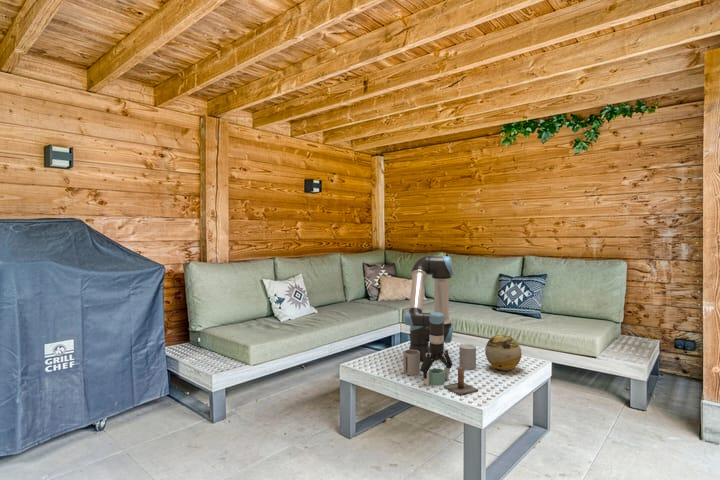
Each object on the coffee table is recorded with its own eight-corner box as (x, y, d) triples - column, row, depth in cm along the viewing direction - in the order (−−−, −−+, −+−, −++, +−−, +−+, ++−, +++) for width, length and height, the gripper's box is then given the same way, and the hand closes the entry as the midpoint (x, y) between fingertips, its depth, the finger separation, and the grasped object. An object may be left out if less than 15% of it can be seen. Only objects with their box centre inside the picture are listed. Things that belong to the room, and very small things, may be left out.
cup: (421, 371, 238) (421, 350, 237) (418, 376, 229) (418, 355, 229) (405, 369, 240) (405, 349, 240) (402, 374, 232) (401, 353, 232)
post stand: (443, 387, 213) (443, 366, 212) (461, 383, 219) (461, 362, 218) (460, 396, 202) (460, 373, 202) (478, 391, 208) (478, 369, 208)
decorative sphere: (482, 363, 251) (482, 330, 250) (516, 364, 249) (516, 331, 248) (489, 374, 231) (489, 339, 230) (525, 376, 229) (526, 340, 228)
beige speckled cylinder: (476, 370, 238) (476, 349, 238) (459, 369, 240) (459, 348, 240) (475, 365, 247) (475, 344, 247) (459, 364, 249) (459, 343, 249)
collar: (425, 381, 222) (425, 370, 222) (437, 378, 226) (437, 367, 226) (435, 386, 215) (435, 374, 215) (447, 383, 219) (447, 371, 219)
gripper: (422, 347, 210) (422, 388, 211) (459, 340, 223) (459, 379, 223) (413, 343, 217) (413, 384, 217) (449, 337, 229) (449, 375, 230)
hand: (436, 382), depth 220 cm, fingers open, 13 cm apart
